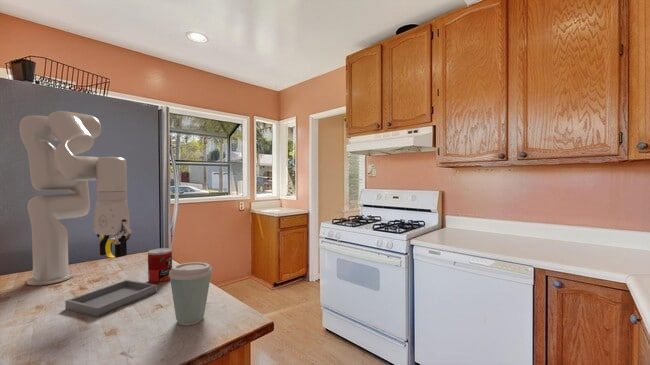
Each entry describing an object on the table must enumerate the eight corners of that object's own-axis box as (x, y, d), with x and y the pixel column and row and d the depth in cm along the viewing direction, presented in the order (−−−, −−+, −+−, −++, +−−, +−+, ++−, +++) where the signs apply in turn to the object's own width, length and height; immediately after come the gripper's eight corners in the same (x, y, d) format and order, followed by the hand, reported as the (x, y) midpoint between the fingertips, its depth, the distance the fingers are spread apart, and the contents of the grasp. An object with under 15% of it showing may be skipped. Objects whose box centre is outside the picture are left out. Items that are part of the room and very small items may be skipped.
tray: (65, 309, 84) (65, 300, 83) (127, 286, 100) (126, 279, 100) (97, 317, 79) (97, 308, 79) (156, 292, 96) (156, 284, 96)
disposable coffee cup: (182, 310, 83) (181, 258, 83) (219, 310, 83) (219, 258, 82) (160, 330, 72) (159, 270, 72) (202, 330, 72) (202, 271, 72)
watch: (123, 258, 89) (124, 239, 89) (114, 260, 87) (114, 241, 86) (112, 254, 92) (112, 236, 91) (102, 257, 89) (102, 238, 89)
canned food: (162, 284, 103) (161, 253, 102) (142, 282, 104) (142, 252, 104) (177, 277, 110) (176, 248, 110) (159, 275, 112) (158, 247, 111)
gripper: (80, 197, 88) (81, 255, 89) (119, 198, 82) (120, 261, 83) (106, 195, 95) (107, 250, 96) (143, 197, 89) (144, 254, 90)
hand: (113, 254), depth 89 cm, fingers closed on watch, 6 cm apart
